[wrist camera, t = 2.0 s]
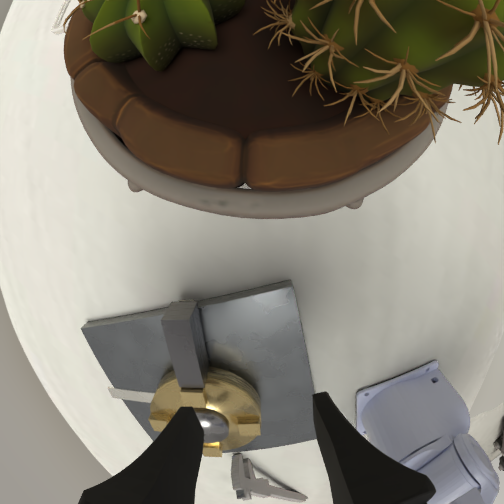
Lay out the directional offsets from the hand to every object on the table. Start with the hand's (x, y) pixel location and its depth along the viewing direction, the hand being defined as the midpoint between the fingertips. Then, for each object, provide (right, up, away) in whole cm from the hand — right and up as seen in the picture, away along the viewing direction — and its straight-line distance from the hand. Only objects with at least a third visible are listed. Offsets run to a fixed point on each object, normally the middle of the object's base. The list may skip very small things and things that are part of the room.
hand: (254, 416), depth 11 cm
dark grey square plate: (-4, -5, +11) cm, 13 cm away
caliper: (+3, -24, +17) cm, 29 cm away
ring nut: (-4, -3, +9) cm, 10 cm away
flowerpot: (0, +18, +5) cm, 19 cm away
